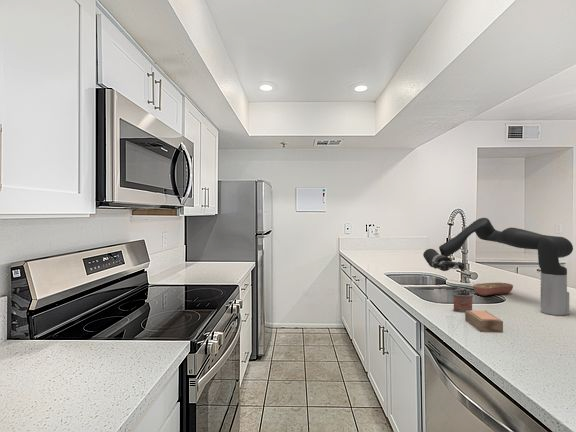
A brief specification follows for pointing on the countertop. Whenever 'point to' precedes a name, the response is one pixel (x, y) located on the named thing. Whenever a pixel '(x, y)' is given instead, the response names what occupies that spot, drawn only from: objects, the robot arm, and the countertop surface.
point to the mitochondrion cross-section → (492, 288)
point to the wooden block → (484, 321)
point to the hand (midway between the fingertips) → (453, 267)
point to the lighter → (462, 300)
